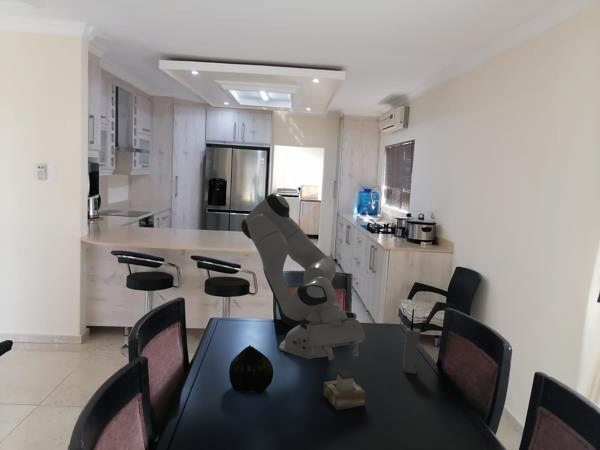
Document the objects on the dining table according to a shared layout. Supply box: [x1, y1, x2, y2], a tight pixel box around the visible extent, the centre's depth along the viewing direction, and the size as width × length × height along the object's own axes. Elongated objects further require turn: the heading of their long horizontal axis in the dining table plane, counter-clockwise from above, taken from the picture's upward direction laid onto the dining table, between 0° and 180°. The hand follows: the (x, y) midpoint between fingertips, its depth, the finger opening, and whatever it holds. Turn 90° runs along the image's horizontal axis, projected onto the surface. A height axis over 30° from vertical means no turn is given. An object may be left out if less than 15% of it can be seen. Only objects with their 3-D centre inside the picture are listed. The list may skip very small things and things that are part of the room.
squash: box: [228, 345, 274, 394], centre depth 146 cm, size 14×15×15 cm
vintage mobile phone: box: [402, 308, 421, 375], centre depth 165 cm, size 4×5×25 cm
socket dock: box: [323, 379, 366, 411], centre depth 142 cm, size 10×10×4 cm
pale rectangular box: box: [336, 368, 355, 393], centre depth 141 cm, size 4×4×8 cm
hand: (344, 357), depth 143 cm, fingers open, 8 cm apart
